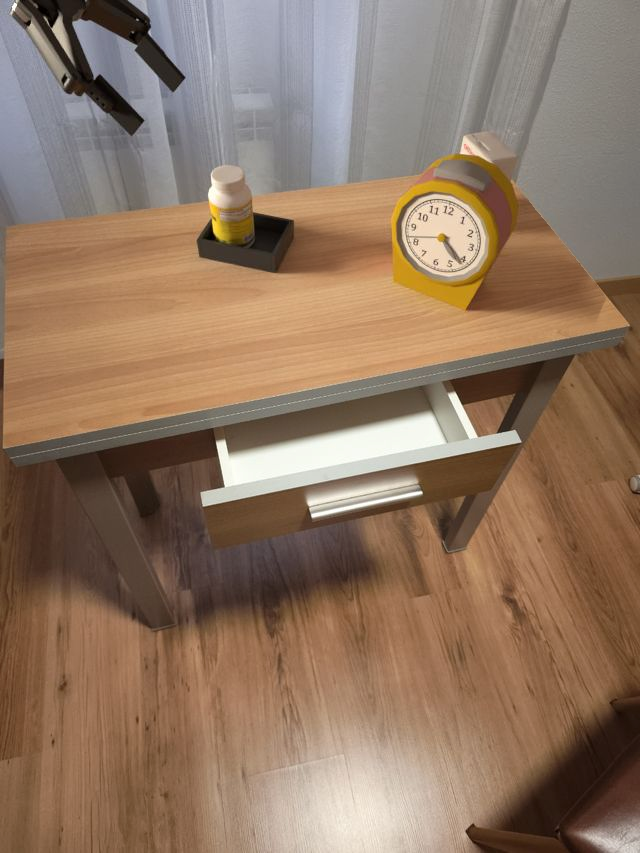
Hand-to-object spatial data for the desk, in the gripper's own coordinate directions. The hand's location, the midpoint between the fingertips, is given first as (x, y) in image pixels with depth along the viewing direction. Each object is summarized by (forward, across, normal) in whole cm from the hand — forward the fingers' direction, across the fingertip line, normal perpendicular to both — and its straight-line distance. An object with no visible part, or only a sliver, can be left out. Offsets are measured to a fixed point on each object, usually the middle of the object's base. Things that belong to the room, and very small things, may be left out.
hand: (159, 106), depth 73 cm
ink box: (+44, -20, +17) cm, 51 cm away
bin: (+21, 0, -6) cm, 22 cm away
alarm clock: (+42, -1, +15) cm, 45 cm away
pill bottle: (+19, 0, -7) cm, 21 cm away
